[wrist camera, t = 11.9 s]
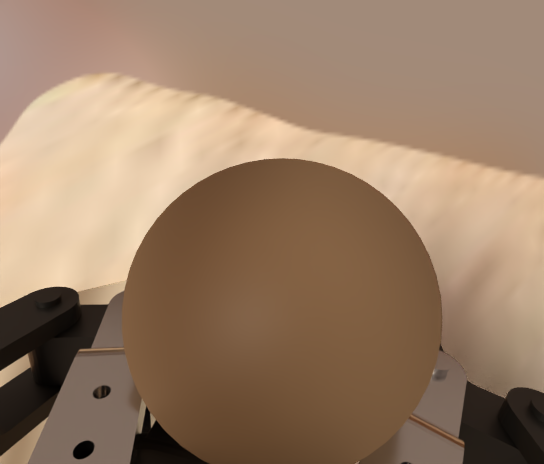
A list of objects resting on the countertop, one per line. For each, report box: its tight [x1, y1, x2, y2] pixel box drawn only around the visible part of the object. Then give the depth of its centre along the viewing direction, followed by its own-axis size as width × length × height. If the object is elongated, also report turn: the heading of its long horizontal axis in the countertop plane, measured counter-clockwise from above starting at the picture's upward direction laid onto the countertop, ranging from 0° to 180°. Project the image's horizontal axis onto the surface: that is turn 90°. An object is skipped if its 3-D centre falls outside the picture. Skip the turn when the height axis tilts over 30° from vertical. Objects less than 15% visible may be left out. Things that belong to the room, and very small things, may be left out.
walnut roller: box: [122, 158, 442, 464], centre depth 11 cm, size 5×5×12 cm
